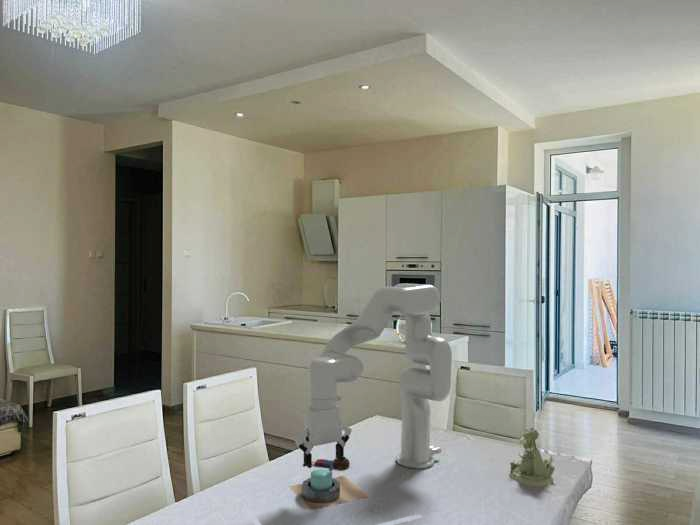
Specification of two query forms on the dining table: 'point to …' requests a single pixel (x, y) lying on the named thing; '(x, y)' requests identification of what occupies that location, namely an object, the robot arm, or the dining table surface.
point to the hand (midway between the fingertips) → (324, 462)
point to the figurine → (532, 463)
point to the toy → (332, 463)
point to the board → (346, 493)
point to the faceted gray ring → (320, 492)
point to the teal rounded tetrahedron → (321, 479)
